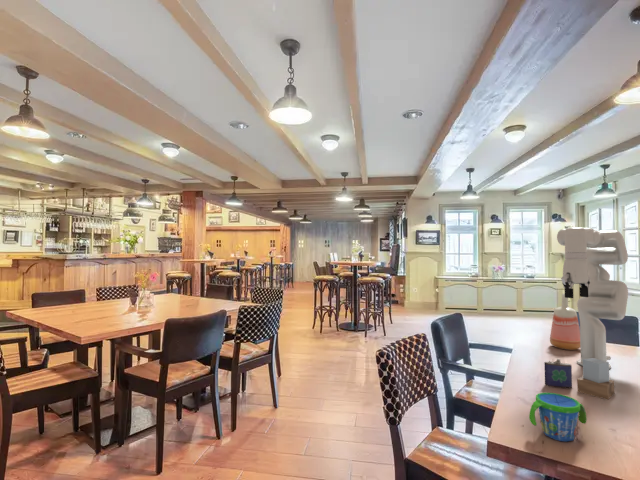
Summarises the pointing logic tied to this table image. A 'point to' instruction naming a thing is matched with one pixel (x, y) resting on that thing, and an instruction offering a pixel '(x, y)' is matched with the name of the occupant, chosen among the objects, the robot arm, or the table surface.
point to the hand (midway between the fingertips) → (576, 297)
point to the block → (596, 388)
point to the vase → (565, 327)
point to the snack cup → (558, 415)
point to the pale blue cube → (596, 370)
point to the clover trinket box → (558, 374)
